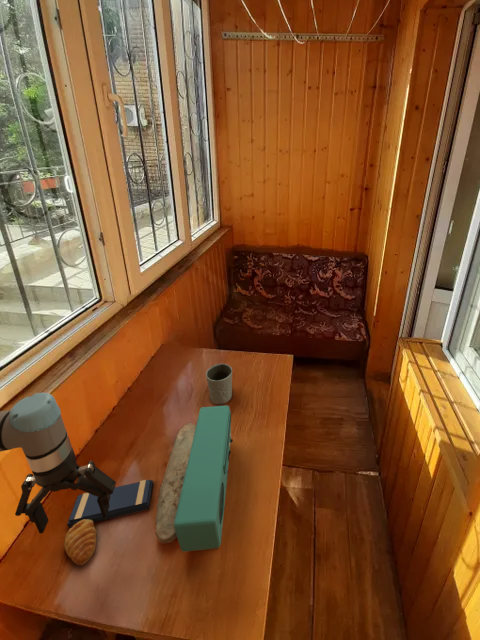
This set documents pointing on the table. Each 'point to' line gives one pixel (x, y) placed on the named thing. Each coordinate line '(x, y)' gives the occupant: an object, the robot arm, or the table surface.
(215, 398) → the grey stone cup
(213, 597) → the table surface
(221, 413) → the teal bluetooth speaker
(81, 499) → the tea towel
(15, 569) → the table surface
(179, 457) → the long grey stone
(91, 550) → the pastry
